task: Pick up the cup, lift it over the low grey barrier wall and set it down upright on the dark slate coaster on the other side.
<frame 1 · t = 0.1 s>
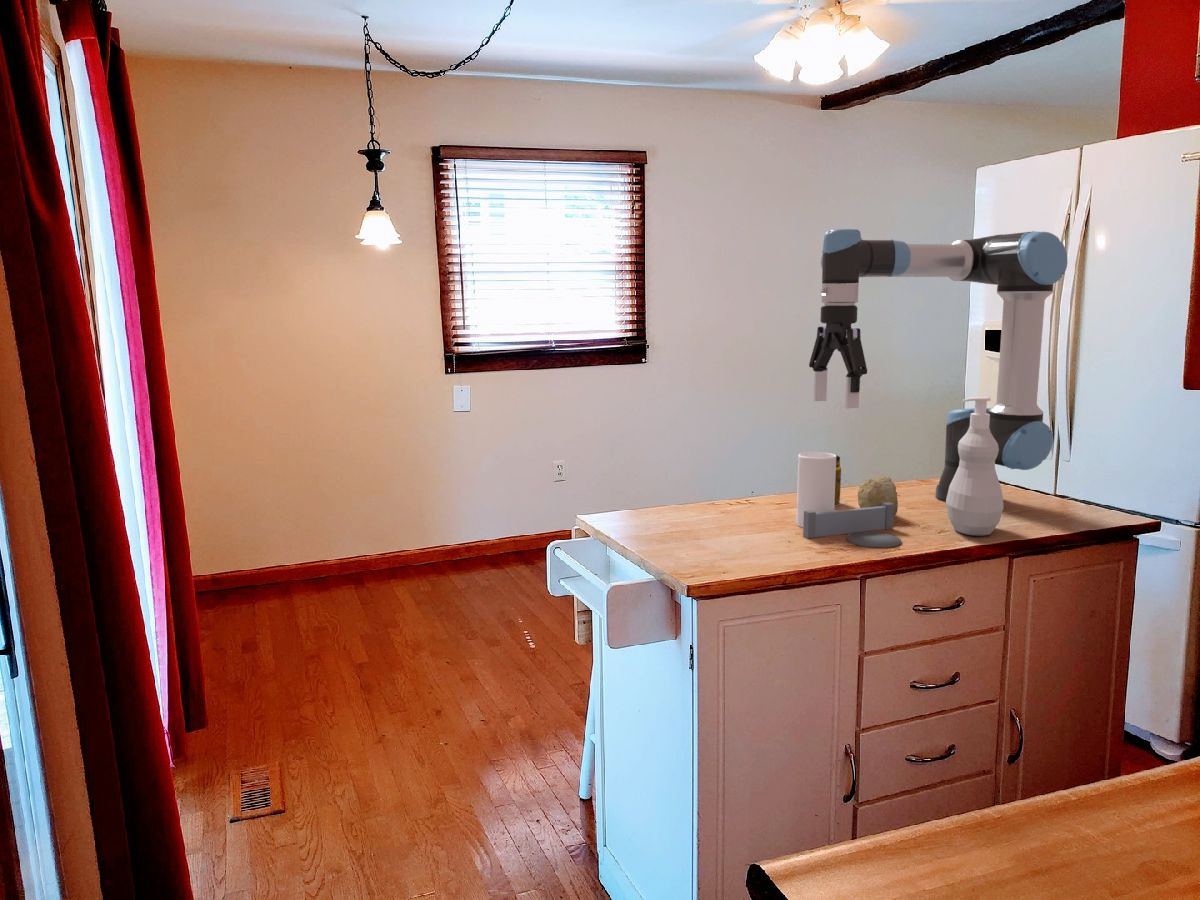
hand: (835, 404, 192), 28 cm above the table, fingers open, 13 cm apart
soap bottle: (972, 531, 195), on the table
slate coaster: (873, 540, 188), on the table
grey barrier wall: (848, 532, 195), on the table
condiment: (824, 504, 222), on the table
beige rough lump: (876, 516, 210), on the table
cup: (814, 525, 202), on the table
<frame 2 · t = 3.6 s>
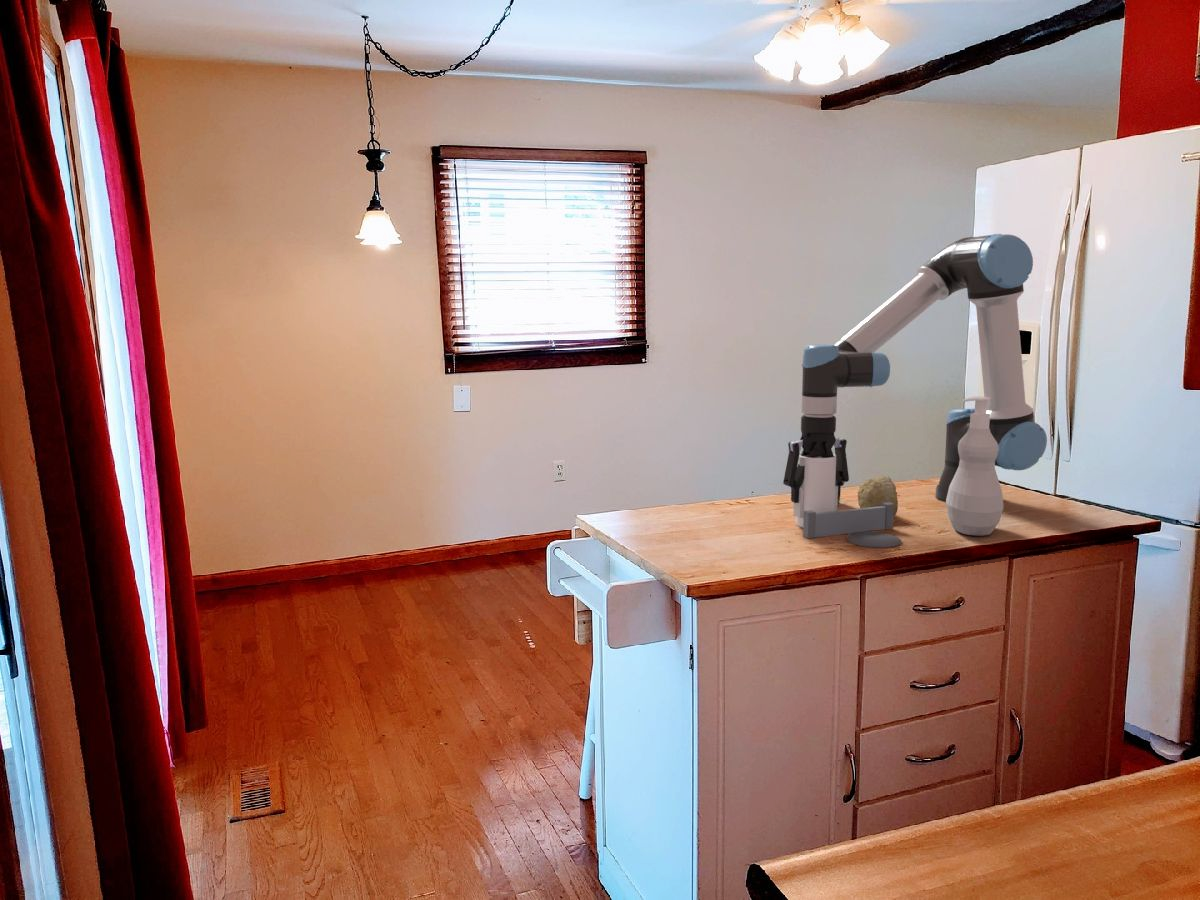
hand: (815, 514, 201), 2 cm above the table, fingers closed on cup, 8 cm apart
cup: (814, 525, 202), on the table, touching gripper
everything else where it was.
when the fingers open (4 cm above the table, at t = 10.0 s): cup stays where it is, resting on slate coaster.
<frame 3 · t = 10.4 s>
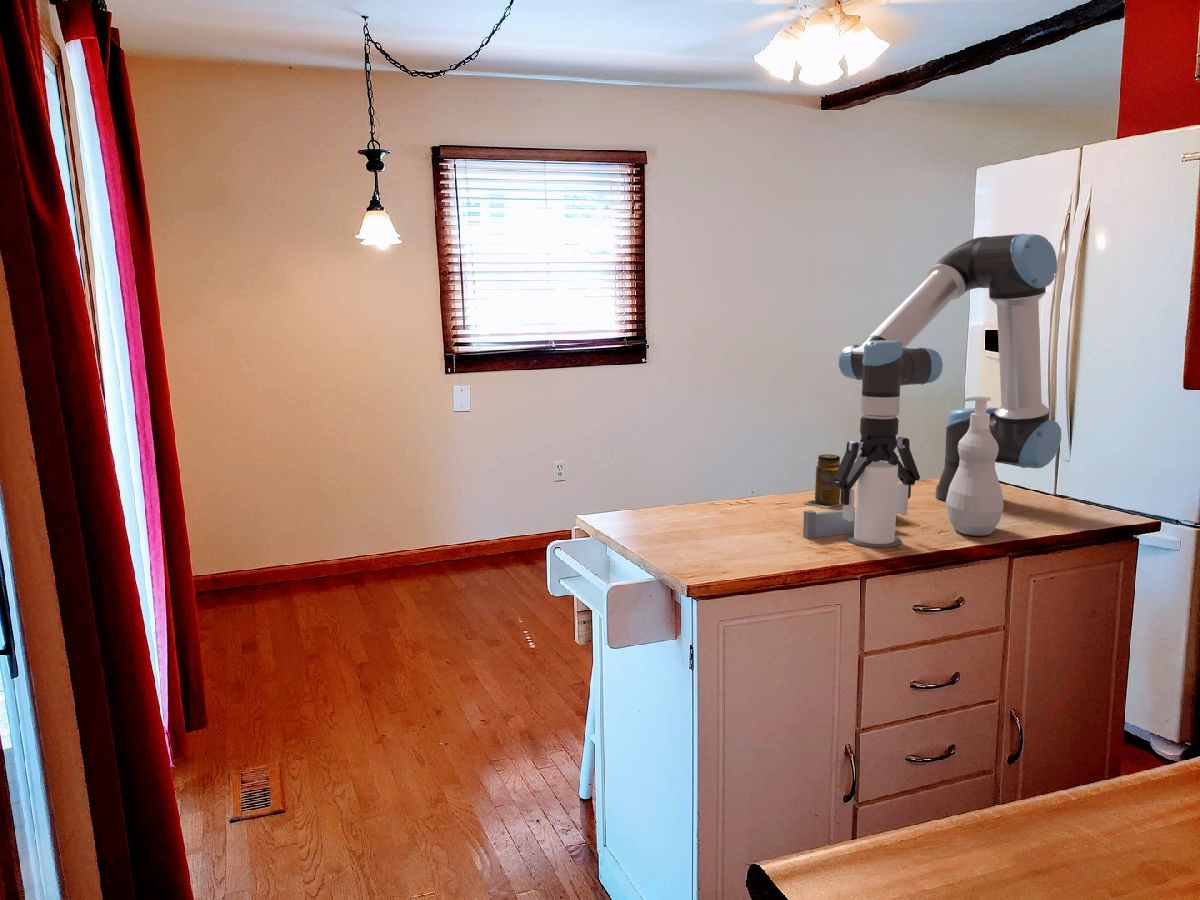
hand: (874, 517, 187), 5 cm above the table, fingers open, 13 cm apart
cup: (874, 539, 188), resting on slate coaster
everything else where it was.
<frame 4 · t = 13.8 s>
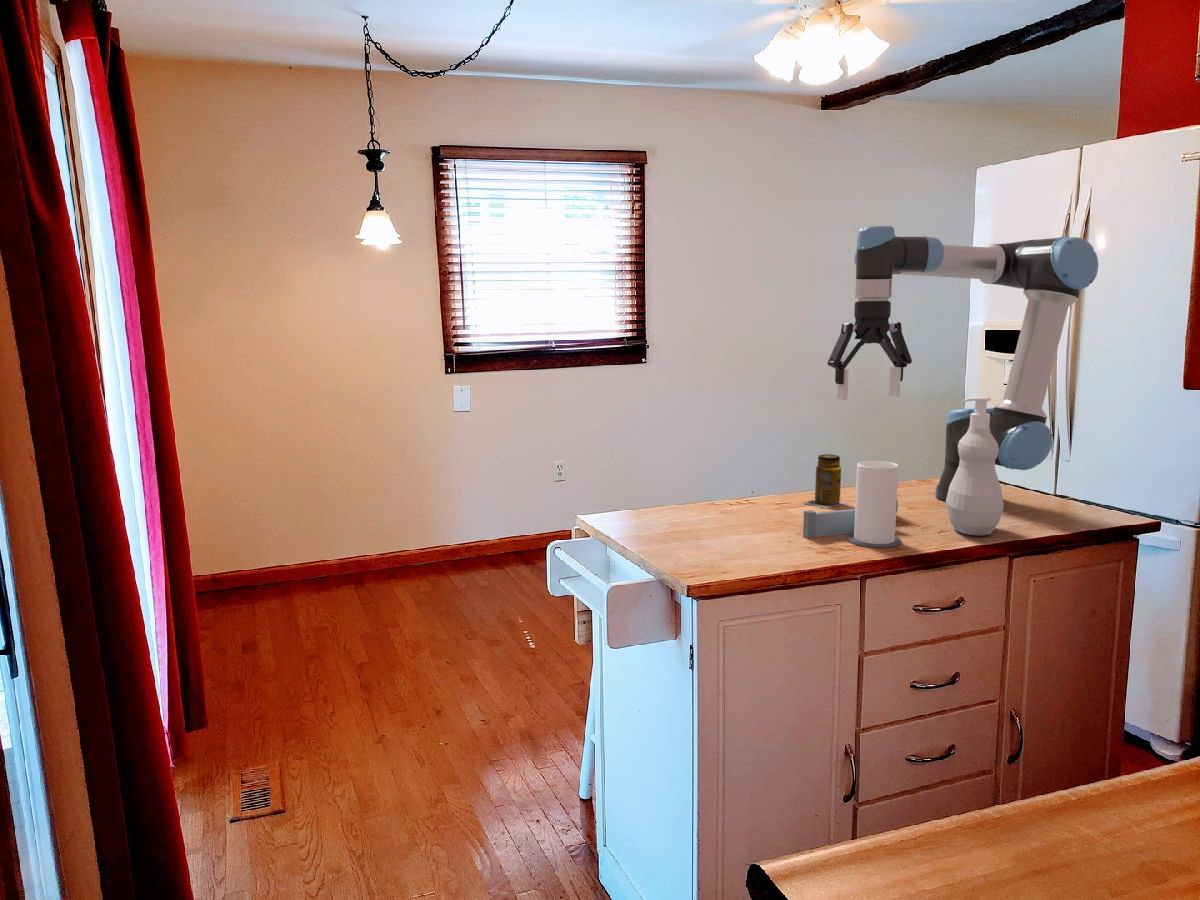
hand: (868, 398, 196), 29 cm above the table, fingers open, 13 cm apart
nothing on the table moved.
at the end: cup 0.1 cm from the slate coaster (horizontally); cup tilted 0°; cup resting on slate coaster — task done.
